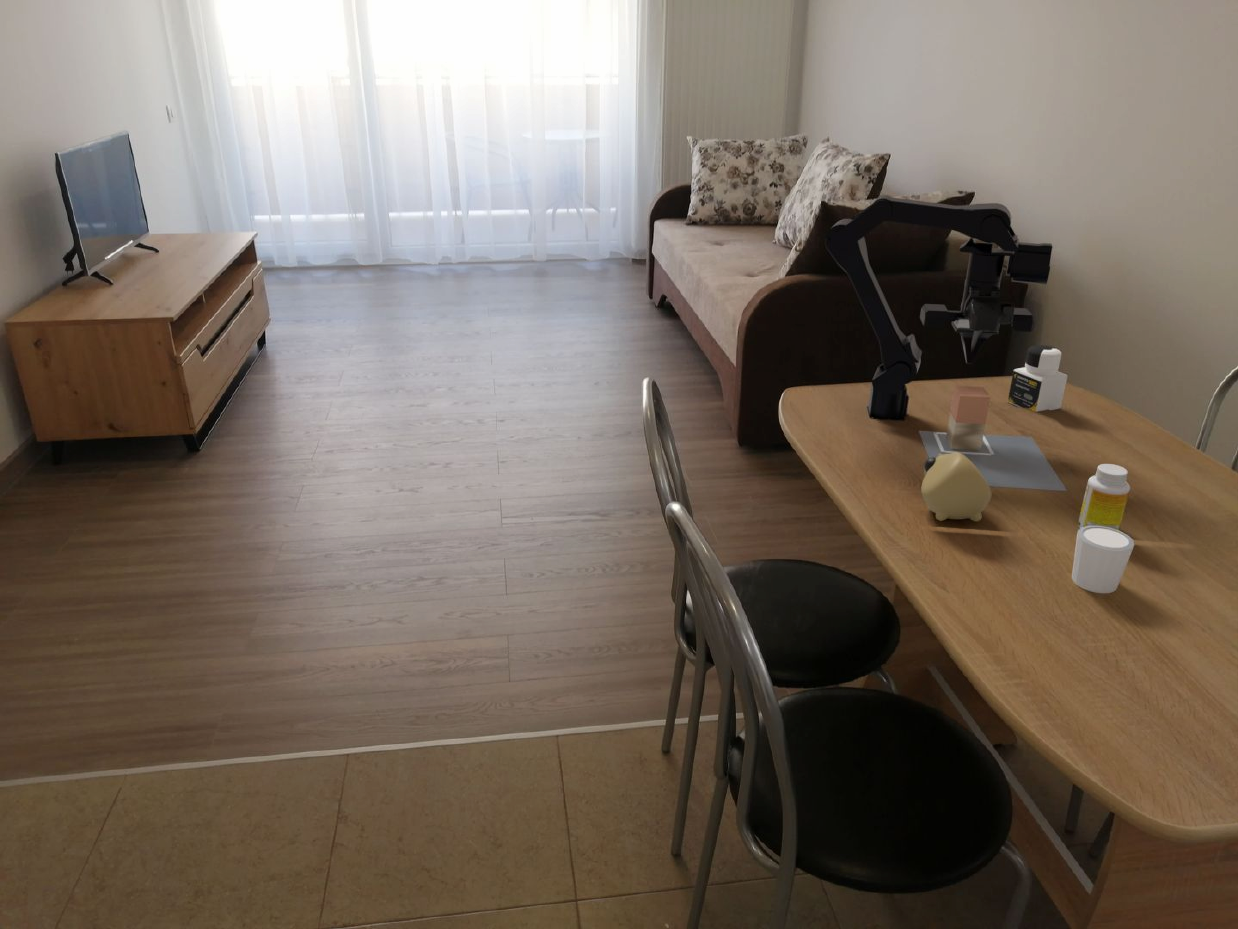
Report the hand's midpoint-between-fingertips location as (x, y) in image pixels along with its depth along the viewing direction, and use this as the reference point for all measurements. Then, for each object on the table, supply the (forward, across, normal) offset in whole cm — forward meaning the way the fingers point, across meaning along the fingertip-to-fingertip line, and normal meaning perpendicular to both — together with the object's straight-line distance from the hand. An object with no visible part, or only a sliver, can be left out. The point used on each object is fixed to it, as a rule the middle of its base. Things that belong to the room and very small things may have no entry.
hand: (968, 363), depth 171 cm
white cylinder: (+13, +9, -54) cm, 56 cm away
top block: (+7, -1, -10) cm, 12 cm away
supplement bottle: (+13, +14, -39) cm, 43 cm away
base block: (+12, -1, -10) cm, 15 cm away
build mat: (+12, +2, -16) cm, 20 cm away
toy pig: (+13, -7, -37) cm, 40 cm away
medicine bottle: (+13, +17, +14) cm, 25 cm away
